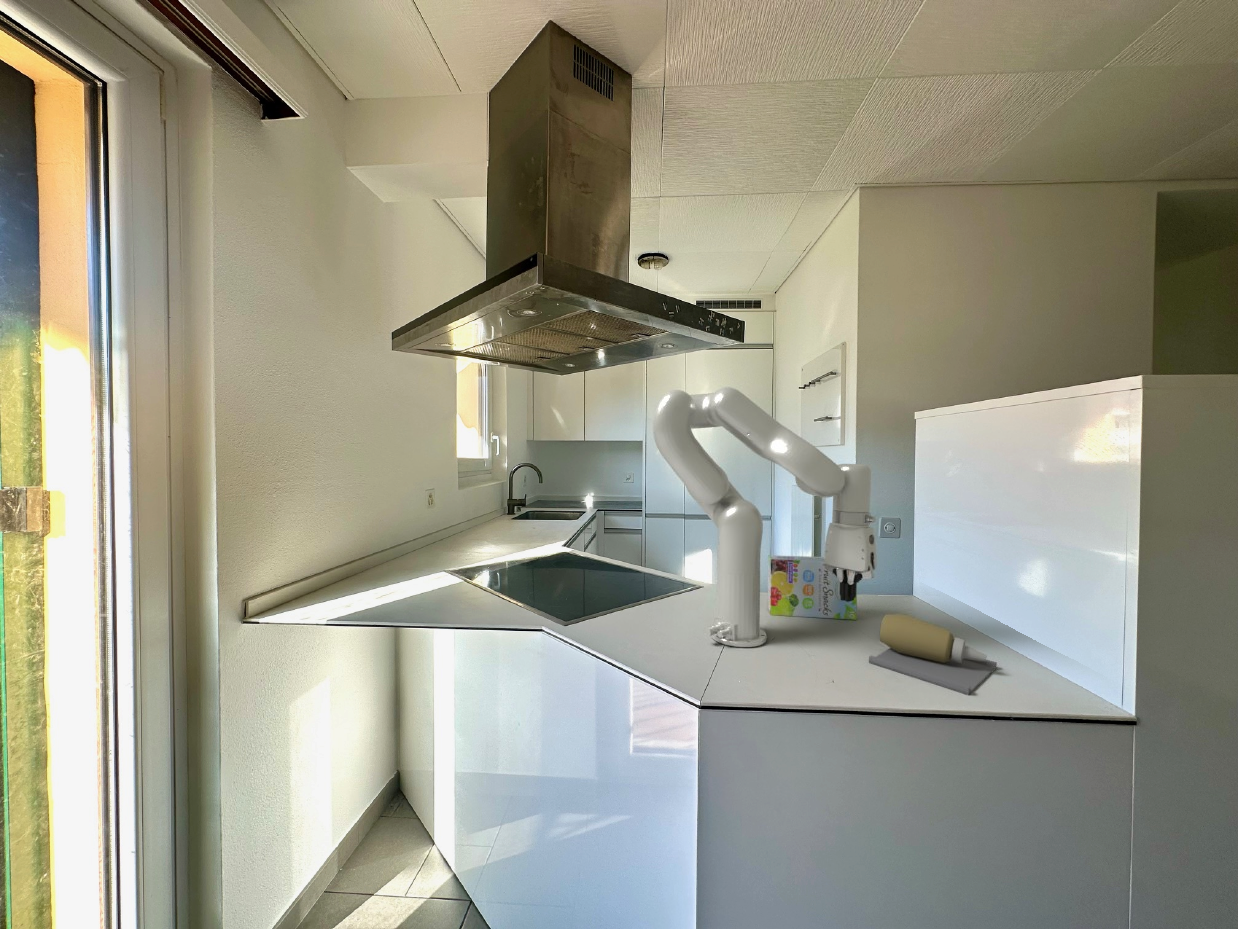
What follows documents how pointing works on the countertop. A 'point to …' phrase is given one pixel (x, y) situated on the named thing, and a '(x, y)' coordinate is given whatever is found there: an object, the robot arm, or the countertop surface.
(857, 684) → the countertop surface
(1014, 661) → the countertop surface
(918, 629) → the squeeze bottle
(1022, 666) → the countertop surface
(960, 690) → the mat
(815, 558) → the snack box
